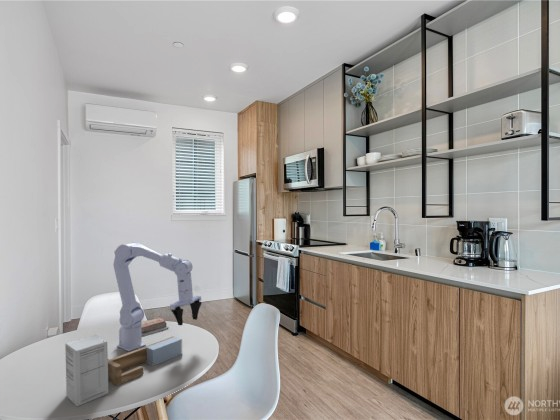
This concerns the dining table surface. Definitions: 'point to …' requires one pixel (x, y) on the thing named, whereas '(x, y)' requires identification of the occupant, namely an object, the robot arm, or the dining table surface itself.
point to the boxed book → (164, 350)
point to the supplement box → (86, 369)
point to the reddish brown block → (153, 326)
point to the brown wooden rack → (127, 365)
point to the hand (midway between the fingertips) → (187, 322)
